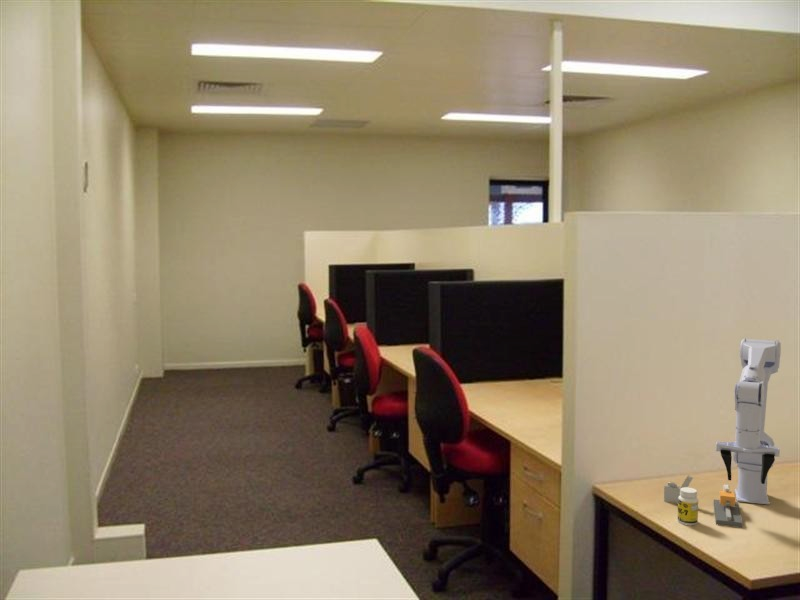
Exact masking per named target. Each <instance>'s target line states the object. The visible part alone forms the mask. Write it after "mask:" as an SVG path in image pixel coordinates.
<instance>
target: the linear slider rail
mask: <svg viewBox="0 0 800 600" xmlns="http://www.w3.org/2000/svg"><path fill="white" fill-rule="evenodd" d="M722 491H728V492H730V485H729V484H723V489H722ZM713 510H714V511H713V512H714V519H715V525H717V524H718V526H725V527H726V526H727V527H734V528H743V519H742V515H741V510H740V506H739V501H735V506H726V505H720V500H719V499H713Z"/></svg>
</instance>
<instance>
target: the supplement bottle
mask: <svg viewBox="0 0 800 600" xmlns="http://www.w3.org/2000/svg"><path fill="white" fill-rule="evenodd" d="M698 518H699V498H698V490H697V489H696V488H693V487H689V486H688V487H683V488H681V489H680V496H679V497H678V504H677V522H678V523H680V524H682V523H683V524H682V525H685V524H687V525H686V526H695V525H697V524H698V521H699V520H698Z"/></svg>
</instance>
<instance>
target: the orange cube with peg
mask: <svg viewBox="0 0 800 600" xmlns="http://www.w3.org/2000/svg"><path fill="white" fill-rule="evenodd" d="M718 498H719V499H718V500H720V505H726V506H735V502H736V494H735V491H734V492H733V491H729V492H728V491H723V490H719V497H718Z"/></svg>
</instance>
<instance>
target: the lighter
mask: <svg viewBox="0 0 800 600" xmlns="http://www.w3.org/2000/svg"><path fill="white" fill-rule="evenodd" d="M693 479H694V477H693V476H691V475H690V474H688V475H687V476H686V478H685V479H684V481H683V482H682V485H681V486H678V483H677V482H672V481H669V482H667V483H666V484H665V485H664V486H663V488H664V489H663V502H666V503H671V504H677V505H678V497H679V496H680V489H681V488H683V487H689V486H690V484H691V482H692V480H693Z"/></svg>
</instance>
